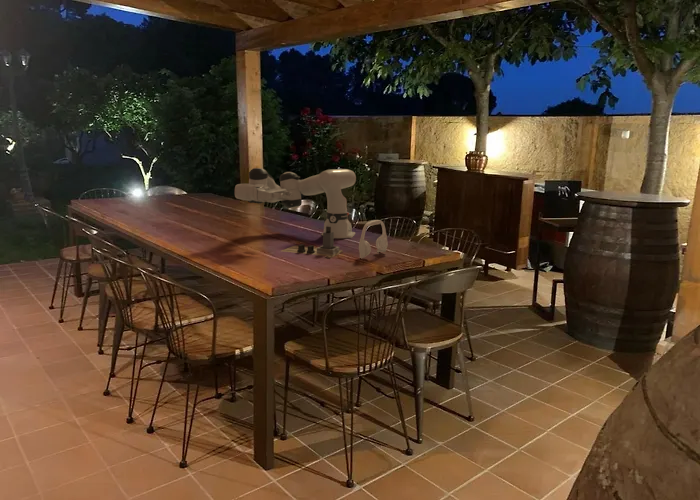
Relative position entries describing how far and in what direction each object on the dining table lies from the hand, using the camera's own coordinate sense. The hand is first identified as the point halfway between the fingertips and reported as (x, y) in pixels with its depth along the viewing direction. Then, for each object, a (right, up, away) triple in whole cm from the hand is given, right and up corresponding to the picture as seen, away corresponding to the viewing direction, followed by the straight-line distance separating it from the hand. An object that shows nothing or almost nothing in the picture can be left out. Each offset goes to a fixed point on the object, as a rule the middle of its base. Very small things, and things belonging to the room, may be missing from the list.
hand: (286, 194), depth 281 cm
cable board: (+13, -29, -1) cm, 32 cm away
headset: (+43, -31, -5) cm, 53 cm away
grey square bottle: (+21, -29, -5) cm, 36 cm away
